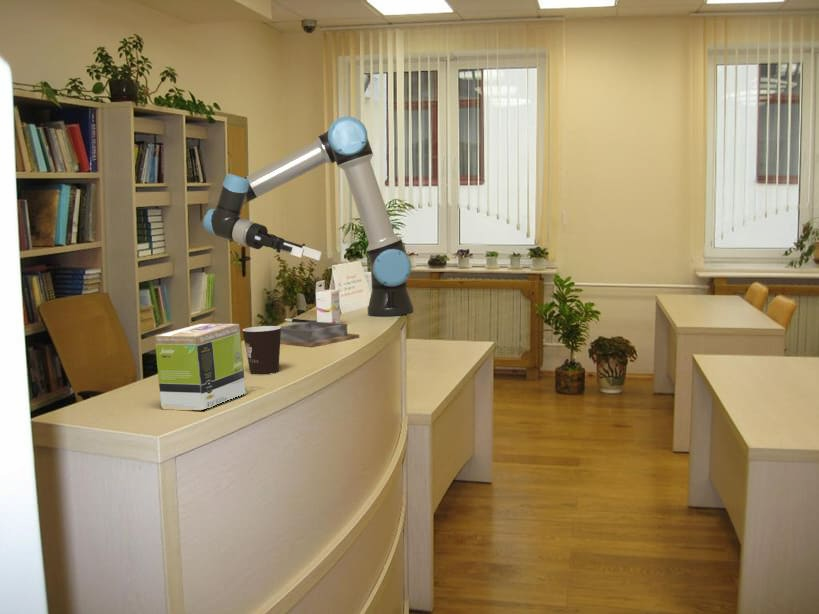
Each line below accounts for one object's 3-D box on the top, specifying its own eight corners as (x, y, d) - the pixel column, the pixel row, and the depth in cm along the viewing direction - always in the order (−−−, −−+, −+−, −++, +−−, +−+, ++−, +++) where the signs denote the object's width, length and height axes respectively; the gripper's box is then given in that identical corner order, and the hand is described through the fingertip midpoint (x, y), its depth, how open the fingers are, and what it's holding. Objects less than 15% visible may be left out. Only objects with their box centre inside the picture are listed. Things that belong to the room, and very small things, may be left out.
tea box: (205, 393, 191) (200, 322, 189) (247, 395, 187) (242, 322, 185) (159, 410, 177) (153, 333, 175) (203, 412, 173) (197, 334, 171)
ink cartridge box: (333, 332, 271) (330, 281, 269) (317, 332, 272) (314, 282, 270) (341, 327, 279) (339, 278, 277) (325, 328, 280) (323, 279, 278)
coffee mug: (284, 374, 208) (281, 330, 207) (245, 377, 207) (242, 332, 205) (282, 365, 219) (280, 323, 218) (245, 368, 218) (242, 325, 217)
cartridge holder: (309, 332, 271) (309, 320, 270) (359, 337, 258) (358, 323, 257) (262, 341, 257) (261, 328, 257) (312, 347, 244) (311, 332, 244)
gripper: (265, 249, 296) (324, 269, 290) (227, 242, 272) (290, 264, 266) (272, 226, 295) (331, 246, 289) (234, 218, 271) (298, 239, 265)
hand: (311, 255), depth 277 cm, fingers open, 13 cm apart
